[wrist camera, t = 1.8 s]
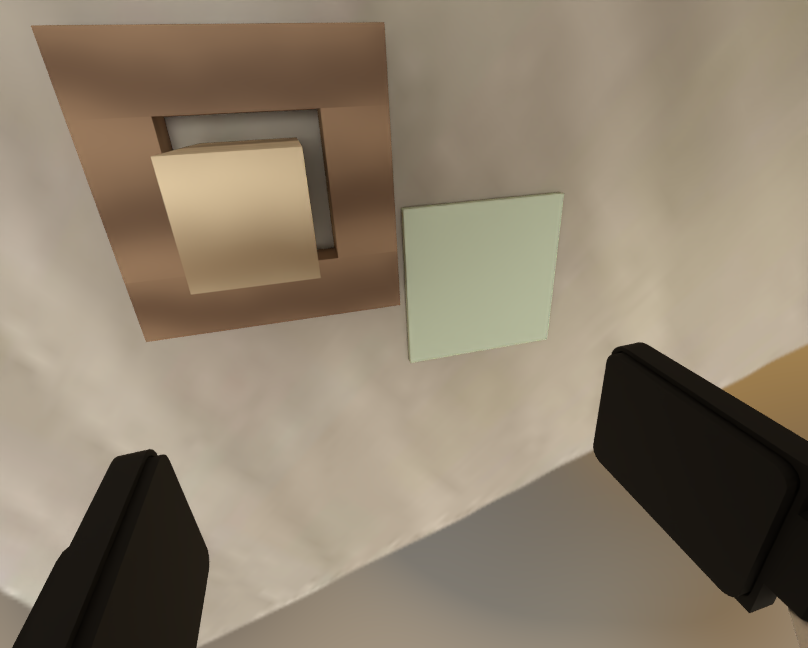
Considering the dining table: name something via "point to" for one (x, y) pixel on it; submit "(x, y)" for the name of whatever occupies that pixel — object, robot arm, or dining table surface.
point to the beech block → (239, 213)
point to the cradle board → (223, 94)
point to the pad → (479, 273)
